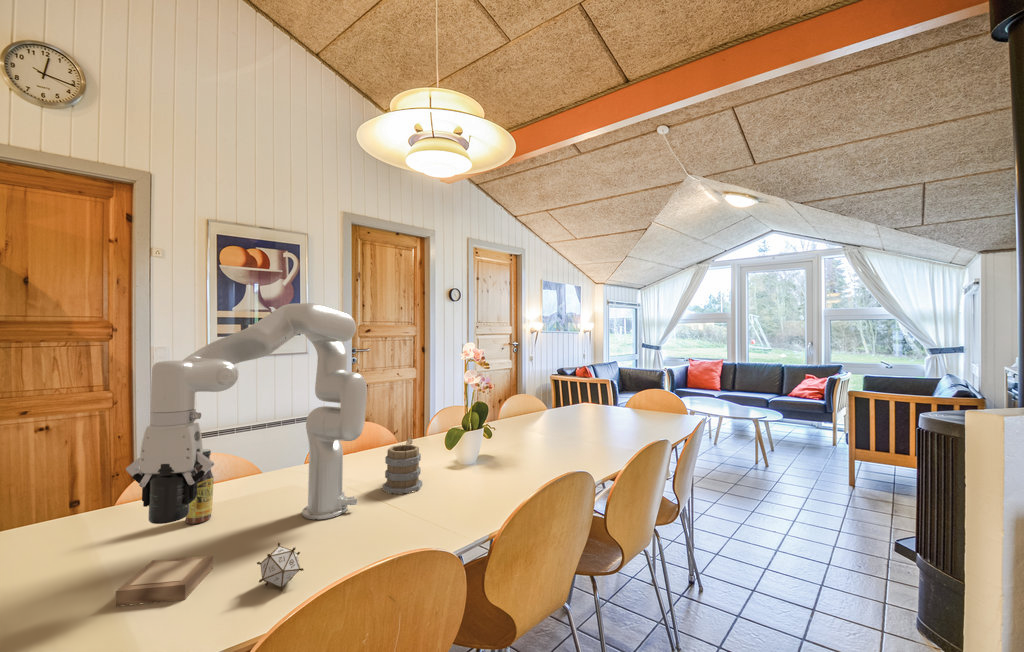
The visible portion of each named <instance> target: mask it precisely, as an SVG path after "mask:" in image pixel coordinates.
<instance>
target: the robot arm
mask: <svg viewBox="0 0 1024 652" xmlns="http://www.w3.org/2000/svg"><path fill="white" fill-rule="evenodd" d="M356 330H357V324H356V322H355V319H354V318H353V317H352V316H351V315H350V314H348V313H346V312H343V311H340V310H337V309H334V308H331V307H328V306H326V305H325V306H324V305H322V304H317V303H311V302H306V303H305V302H303V303H300V302H298V303H287V304H284V305H282V306H280V307H277V309H275V310H273V311H272V312H271V313H269V314H267V315H266V316H264V317H263V318H261V319H260V320H258V321H256V322H255V323H253V324H251V325H250V326H248V327H246V328H244V329H242V330H239V331H236V332H234V333H231V334H229V335H228V336H225V337H222V338H219V339H217V340H214V341H212V342H211V343H209V344H205V346H203V347H201V348H199V349H197V350H196V351H194V352H193V353H191V354H190V355H188V356H186V357H185V358H184V359H182V360H161V361H158V362H155V363H154V364H153V366H152V368H151V378H150V380H151V382H150V405H149V406H150V407H149V408H150V409H149V411H150V412H149V425H147V426H146V428H145V431H144V435H143V438H142V443H141V447H140V454H139V457H138V458H137V459H135V461H132V462H131V463H130V464H129V465H128V466H126V467H125V471H126V472H127V473H128V474H129V475H130V476H131V477H132V479H133V480H134V481H135V482H136V483H138V486H139V488H141V490H142V491H141V492H142V493H141V501H142V502H143V503H142V507H146V508H147V507H149V489H150V480H151V479H152V477H153V476H155V475H156V474H159V473H158V470H159V469H160V468H161V464H170V467H172V470H174V472H171V473H183V475H184V477H185V479H186V481H187V485H186V486H185V490H184V504H189V503H191V502H192V501H193V500H195V498H196V496H197V481H199V480H200V479H201V478H202V477H203V476H204V475H205V474H206V473H207V472H208V471H209V470H210V469H211V470H212V468H213V467H214V466H215V463H214V461H213V460H211V458H210V459H208V458H207V457H206V456H204V455H203V450H202V449H203V440H202V432H201V428H200V424H199V422H195V421H196V420H200V419H201V418H202V413H201V412H197V410H196V408H195V405H196V393H197V392H203V393H204V392H205V393H207V392H209V393H210V392H211V393H219V392H223V391H227V390H229V389H230V388H232V387H233V386H234V385H235V384H236V383H237V382H238V379H239V370H238V368H237V366H236V364H239V363H243V362H248V361H253V360H257V359H260V358H264V357H266V356H269V355H271V354H272V353H274V352H275V351H277V350H278V349H279V348H280V347H282V346H283V345H284V344H286V343H287V342H289V341H290V340H292V339H293V338H294V337H296V336H297V335H304V336H305V337H306V338H307V339H308V340H309V341H310V342H311V344H312V345H313V347H314V349H315V351H316V354H317V364H316V365H317V366H316V374H315V375H316V376H315V383H314V384H315V386H314V393H315V394H314V395H315V396H316V398H317V400H319V401H322V402H325V403H327V402H328V403H337V404H340V407H339V406H338V407H337V406H329V405H328V406H327V405H326V406H325V405H324V406H320V407H319V406H318V407H316V408H314V409H313V410H311V411H310V412H309V414H308V415H307V417H306V419H305V420H306V421H305V429H306V435H307V440H308V486H307V488H308V491H307V492H308V493H307V494H308V495H307V497H308V498H307V506H305V507H304V508H303V509H302V511H301V515H302V516H303V518H305V519H308V520H315V519H317V520H326V519H331V518H332V519H333V518H335V516H336V517H338V516H341V515H342V514H344V513H346V511H347V510H348V506H357V505H358V497H356V498H355V496H345V492H344V491H343V472H344V471H343V470H344V469H343V466H344V449H343V445H342V442H351V441H352V442H353V441H356V439H358V438H359V437H360V436H361V435H362V433H363V430H364V426H365V423H366V421H365V420H366V410H367V398H368V397H367V396H368V386H367V381H366V380H365V378H364V376H363V375H362V374H360V373H358V372H354V371H347V369H348V367H347V366H348V352H347V350H346V346H345V345H344V344H343V343H345V342H348V341H350V340H351V339H353V337H354V336H355V334H356V332H357V331H356ZM341 441H342V442H341ZM200 465H203V467H202V469H201V470H200V471H199V472H197V470H196V467H199V466H200Z"/></svg>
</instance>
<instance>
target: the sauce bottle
mask: <svg viewBox="0 0 1024 652" xmlns="http://www.w3.org/2000/svg"><path fill="white" fill-rule="evenodd" d="M202 450H203V455H204V456H206V457H207V458H208V459H210V460H211V457H210V456H211V454H212V453H211V452H212V451H211V449H210V448H209V449H208V448H206V449H205V448H204V449H203V448H202ZM202 467H203V465H200V466H199V467H196V470H197V472H199V471H200V470H201V469H202ZM214 479H215V478H214V476H213V472H212V468H211V469H210V470H209V471H208V472H207V473H206V474H205V475H204V476H203V477H202V478H201V479H200V480H199V481H197V496H196V498H195V500H193V501H192V502H191V503H190V506H189V514H188V515H187V516H186V517H185V521H184V522H185V523H186V524H189V525H196V524H200V523H204V522H207V521H209V520H210V519H211V518H212V513H213V512H212V511H213V495H214Z"/></svg>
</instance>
